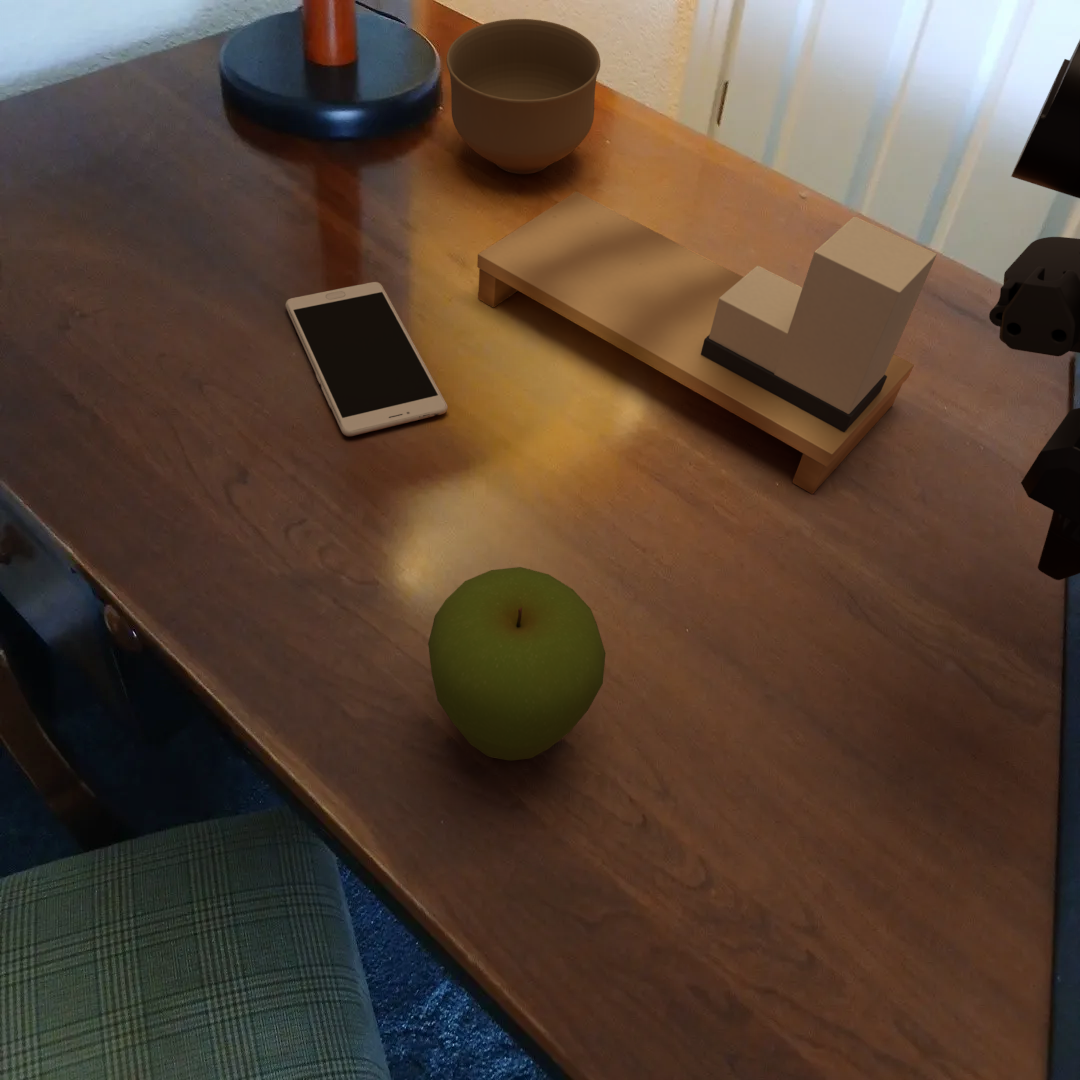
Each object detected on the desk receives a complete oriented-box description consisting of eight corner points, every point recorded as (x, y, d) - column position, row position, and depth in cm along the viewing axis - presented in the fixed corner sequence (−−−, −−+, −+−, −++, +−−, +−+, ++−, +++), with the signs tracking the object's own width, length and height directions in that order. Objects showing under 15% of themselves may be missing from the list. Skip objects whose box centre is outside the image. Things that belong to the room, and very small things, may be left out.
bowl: (415, 160, 92) (414, 47, 84) (511, 111, 99) (518, 2, 91) (523, 221, 87) (531, 107, 80) (616, 166, 94) (632, 55, 86)
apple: (617, 756, 56) (651, 635, 47) (482, 833, 53) (492, 718, 44) (530, 640, 61) (547, 509, 52) (400, 703, 57) (394, 575, 48)
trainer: (881, 391, 71) (941, 254, 63) (844, 432, 68) (902, 294, 60) (740, 318, 75) (779, 180, 66) (700, 354, 72) (735, 214, 64)
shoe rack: (895, 406, 76) (914, 364, 73) (814, 496, 70) (832, 454, 67) (571, 233, 87) (576, 190, 84) (475, 297, 80) (477, 253, 77)
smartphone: (380, 279, 80) (450, 408, 71) (380, 286, 80) (450, 415, 72) (282, 298, 77) (343, 434, 69) (283, 305, 78) (344, 441, 69)
